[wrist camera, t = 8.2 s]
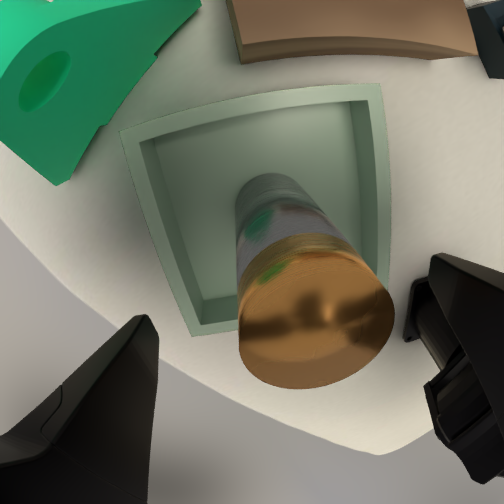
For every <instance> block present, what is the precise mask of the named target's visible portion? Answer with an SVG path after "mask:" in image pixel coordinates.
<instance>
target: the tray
mask: <svg viewBox="0 0 504 504" xmlns="http://www.w3.org/2000/svg"><path fill="white" fill-rule="evenodd" d="M119 133H120V137H121V141H122V145H123V149H124V152H125V156H126V159H127V163H128V166H129V170H130V173H131V177H132V180H133V183H134V187H135V190H136V193H137V196H138V199H139V202H140V205H141V209H142V212H143V215H144V217H145V220H146V223H147V226H148V229H149V232H150V235H151V238H152V240H153V243H154V246H155V249H156V251H157V254H158V257H159V259H160V262H161V265H162V267H163V270H164V272H165V275H166V277H167V280H168V282H169V285H170V287H171V290H172V292H173V295H174V297H175V300H176V302H177V304H178V307H179V309H180V311H181V314H182V316H183V318H184V321H185V323H186V325H187V327H188V330H189V332H190V334H191V336H192V337H195V336H202V335H209V334H215V333H222V332H228V331H234V330H238V304H237V272H236V233H235V202H236V199H237V196H238V194H239V192H240V190H241V189H242V187H243V186H244V185H245V184H246V183H247V182H248V181H249V180H251V179H252V178H254V177H256V176H258V175H261V174H265V173H280V174H284V175H286V176H289V177H291V178H292V179H294V180H295V181H296V182H297V183H298V184H299V185H300V186H301V187H302V188H303V189H304V190H305V191H306V192H307V194H308V195H309V196H310V197H311V198H312V199H313V200H314V201H315V203H316V204H317V205H318V206H319V207H320V208H321V209H322V211H323V212H324V213H325V214H326V215H327V216H328V217H329V219H330V220H331V221H332V222H333V223H334V225H335V226H336V227H337V228H338V229H339V230H340V232H341V233H342V234H343V235H344V236H345V238H346V239H347V240H348V241H349V243H350V244H351V245H352V246H353V247H354V249H355V250H356V251H357V252H358V254H359V255H360V256H361V257H362V259H363V260H364V261H365V263H366V264H367V265H368V266H369V268H370V269H371V270H372V271H373V273H374V274H375V275H376V277H377V278H378V279H379V281H380V282H381V283H382V285H383V286H384V287H385V289H386V290H387V291H388V279H389V265H390V244H391V186H390V165H389V151H388V139H387V129H386V120H385V112H384V105H383V98H382V92H381V86H380V83H371V84H340V85H325V86H313V87H303V88H295V89H287V90H279V91H272V92H266V93H260V94H254V95H248V96H243V97H238V98H233V99H228V100H224V101H219V102H215V103H210V104H206V105H202V106H198V107H194V108H191V109H187V110H183V111H180V112H176V113H173V114H169V115H166V116H163V117H159V118H156V119H153V120H150V121H147V122H144V123H141V124H138V125H135V126H133V127H130V128H127V129H124V130H122V131H119Z"/></svg>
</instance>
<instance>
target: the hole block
mask: <svg viewBox="0 0 504 504" xmlns="http://www.w3.org/2000/svg"><path fill="white" fill-rule="evenodd" d="M226 3H227V7H228V11H229V15H230V20H231V24H232V28H233V32H234V37H235V41H236V45H237V49H238V54H239V58H240V63H241V65H242V64H247V63H253V62H260V61H267V60H274V59H282V58H291V57H302V56H317V55H345V54H358V55H386V56H400V57H411V58H419V59H427V60H436V59H444V58H453V57H463V56H477V55H478V51H477V47H476V42H475V38H474V34H473V31H472V27H471V23H470V20H469V17H468V13H467V10H466V7H465V4H464V1H463V0H226Z"/></svg>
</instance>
